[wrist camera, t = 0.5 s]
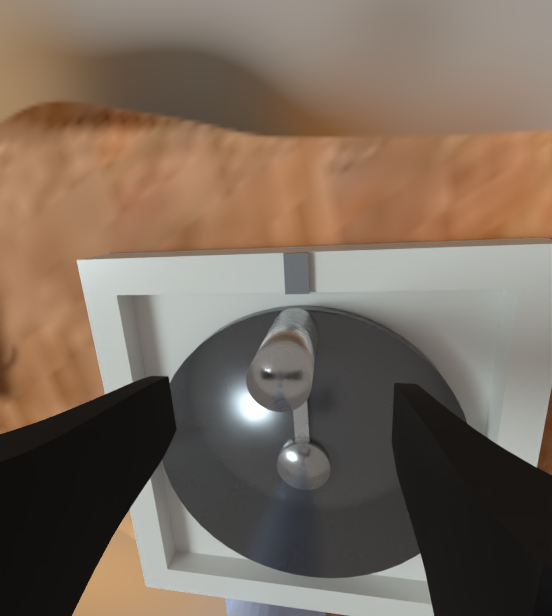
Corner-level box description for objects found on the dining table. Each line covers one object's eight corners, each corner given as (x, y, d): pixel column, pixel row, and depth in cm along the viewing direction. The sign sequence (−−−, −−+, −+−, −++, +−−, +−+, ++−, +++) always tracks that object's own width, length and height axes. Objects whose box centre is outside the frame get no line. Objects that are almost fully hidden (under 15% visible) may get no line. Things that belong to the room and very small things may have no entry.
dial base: (486, 589, 24) (507, 644, 21) (164, 550, 28) (143, 590, 25) (540, 237, 17) (583, 243, 14) (108, 253, 21) (72, 260, 18)
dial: (455, 573, 22) (505, 726, 15) (189, 547, 25) (138, 665, 19) (477, 295, 17) (565, 349, 10) (143, 307, 20) (53, 354, 14)
